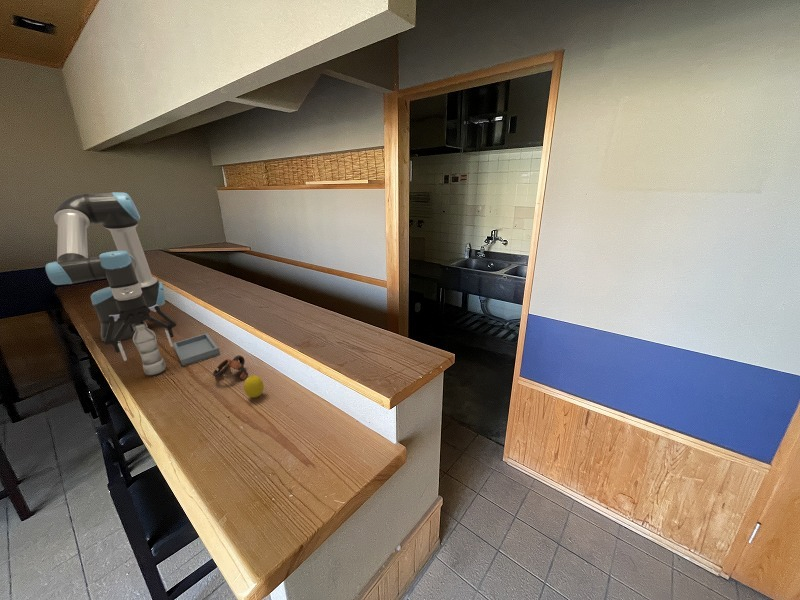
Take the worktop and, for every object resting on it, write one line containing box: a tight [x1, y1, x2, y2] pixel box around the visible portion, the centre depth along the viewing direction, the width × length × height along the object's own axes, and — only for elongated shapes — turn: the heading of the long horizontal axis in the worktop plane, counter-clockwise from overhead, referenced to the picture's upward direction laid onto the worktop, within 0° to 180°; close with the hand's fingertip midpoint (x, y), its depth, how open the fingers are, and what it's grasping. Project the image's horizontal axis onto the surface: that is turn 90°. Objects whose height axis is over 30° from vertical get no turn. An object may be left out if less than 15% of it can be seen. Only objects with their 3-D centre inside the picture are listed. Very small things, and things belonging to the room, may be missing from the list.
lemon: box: [243, 375, 265, 398], centre depth 100 cm, size 6×6×8 cm
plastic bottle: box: [132, 321, 167, 376], centre depth 115 cm, size 6×7×20 cm
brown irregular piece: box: [212, 355, 249, 382], centre depth 113 cm, size 12×10×8 cm
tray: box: [172, 332, 221, 368], centre depth 132 cm, size 20×13×3 cm, turn 42°
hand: (149, 352), depth 116 cm, fingers open, 13 cm apart
